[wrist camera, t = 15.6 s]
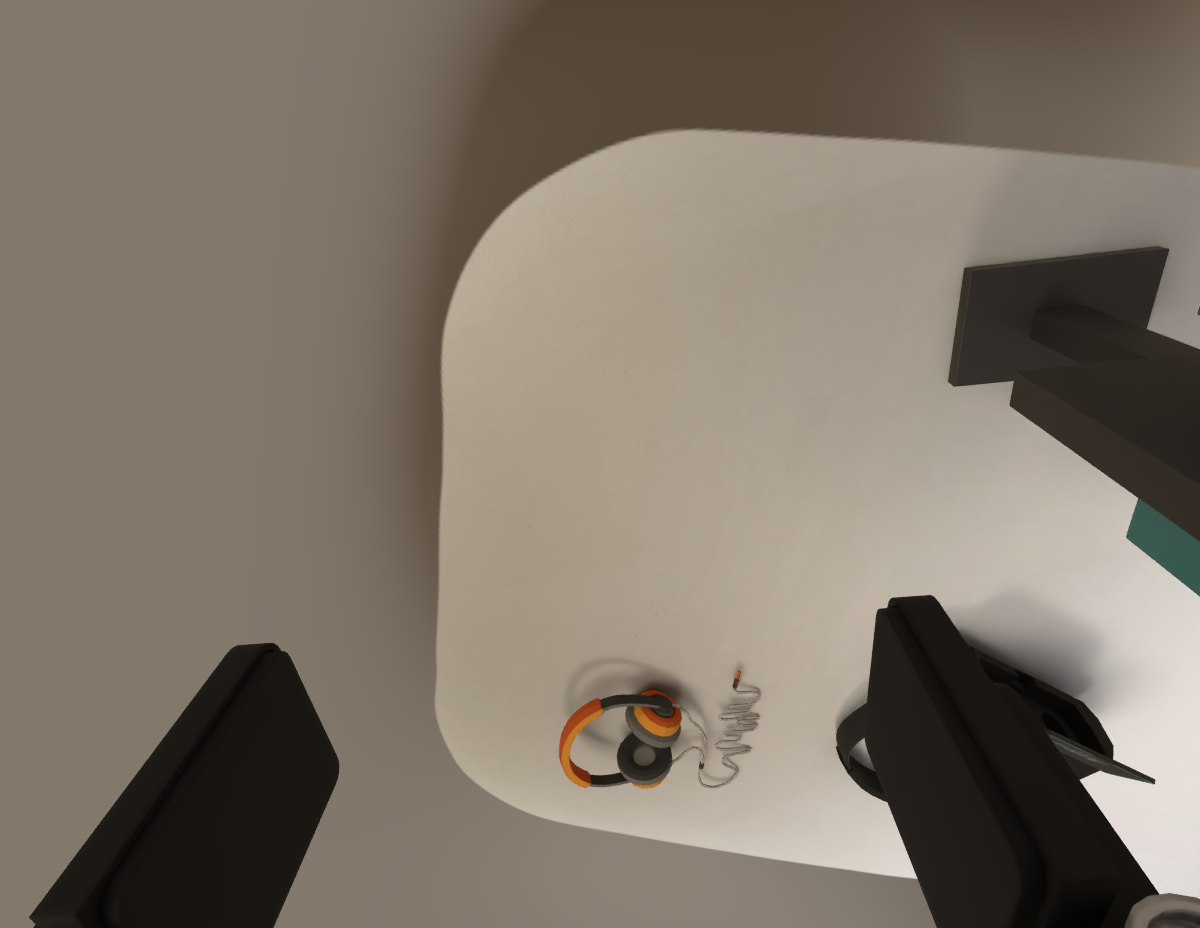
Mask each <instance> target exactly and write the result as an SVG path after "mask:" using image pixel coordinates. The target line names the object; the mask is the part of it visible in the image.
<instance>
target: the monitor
mask: <svg viewBox="0 0 1200 928" xmlns="http://www.w3.org/2000/svg"><path fill="white" fill-rule="evenodd" d="M1168 252H1169V249H1167V248H1163V247H1149V248H1140V249H1131V250H1122V251H1113V252H1104V253H1095V254H1086V255H1078V256H1069V257H1060V258H1051V259H1042V260H1033V261H1024V262H1015V263H1007V264H998V265H989V266H980V267H971V268H965V269H964V275H963V282H962V289H961V296H960V303H959V310H958V317H957V324H956V331H955V338H954V344H953V351H952V358H951V365H950V372H949V379H948V382H949V383H950V384H952V385H953V386H954V387H956V386H966V385H976V384H986V383H997V382H1007V381H1014V385H1013V390H1012V395H1011V400H1010V406H1011V407H1012V408H1014V409H1015V410H1016V411H1018V412H1019V413H1021V414H1022V415H1023V416H1025V417H1026V418H1028V419H1029V420H1030V421H1032V422H1033V423H1034V424H1036V425H1037V426H1039V427H1040V428H1041V429H1043V430H1044V431H1046V432H1047V433H1048V434H1050V435H1051V436H1053V437H1054V438H1055V439H1057V440H1058V441H1060V442H1061V443H1062V444H1064V445H1065V446H1067V447H1068V448H1069V449H1071V450H1072V451H1074V452H1075V453H1076V454H1078V455H1079V456H1081V457H1082V458H1083V459H1085V460H1086V461H1088V462H1089V463H1090V464H1092V465H1093V466H1095V467H1096V468H1097V469H1099V470H1100V471H1101V472H1103V473H1104V474H1106V475H1107V476H1108V477H1110V478H1111V479H1113V480H1114V481H1115V482H1117V483H1118V484H1120V485H1121V486H1122V487H1124V488H1125V489H1127V490H1128V491H1129V492H1131V493H1132V494H1134V495H1135V496H1136V497H1138V498H1139V499H1141V500H1142V501H1143V502H1145V503H1146V504H1148V505H1149V506H1150V507H1152V508H1153V509H1155V510H1156V511H1157V512H1159V513H1160V514H1161V515H1163V516H1164V517H1166V518H1167V519H1168V520H1170V521H1171V522H1173V523H1174V524H1175V525H1177V526H1178V527H1180V528H1181V529H1182V530H1184V531H1185V532H1187V533H1188V534H1189V535H1191V536H1192V537H1194V538H1195V539H1196V540H1198V541H1199V542H1200V349H1197V348H1195V347H1192V346H1189V345H1187V344H1184V343H1182V342H1179V341H1176V340H1174V339H1171V338H1169V337H1166V336H1163V335H1161V334H1158V333H1156V332H1153V331H1150V330H1148V329H1147V326H1148V322H1149V319H1150V315H1151V312H1152V308H1153V305H1154V301H1155V298H1156V294H1157V291H1158V287H1159V284H1160V280H1161V277H1162V273H1163V270H1164V266H1165V263H1166V259H1167V256H1168Z"/></svg>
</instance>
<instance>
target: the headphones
mask: <svg viewBox="0 0 1200 928" xmlns="http://www.w3.org/2000/svg"><path fill="white" fill-rule="evenodd" d="M740 673H741V672H740V671H738V673H737V676H736V678H735V679H734V683H733V686H732V687H733V691H734V692H735V693H738V694H742V693H754V694H757V695H758V697H757V699H756V700H755V701H754V702H751V703H746V704H734V705H730V706H729V710H730V711H743V712H733V713H722V714H720V715H719V719H720V720H723V721H729V720H738V721H737V722H736V725H738V726H755V727H754V728H752V729H745V730H732V731H727V732H726V733H725V736H726V737H738V738H739V739H737V740H724V741H720V742H717V743H716V744H715V748H716V749H717V750H747V751H742V752H736V753H732V754H728V755H726V756H724V757H723V759H722V764H723V765H725V766H726V767H728V768H731V769H733V770H734V771H736V773H735V775H734V776H733V777H732V778H731V779H730V780H728V781H727V782H725V783H722V784H719V785H715V786H709V785H705V784H703V783H702V782H701V779H700V773H701V769H703V767H704V761H705V757H706V752H707V740H706V736H705V734H704V732H703V730H702V728H701V727H700V726H699V725H698V724H697V723H695V722H693V721H692V720H691V718H690V715H689V713H688V712H687V711H686V710H685V709H684V708H683V707H681V706H679V705H677V704H676V703H675V702H674V701H673V700H672V699H671V698H670V697H669V696H667V695H666V694H664V693H662V692H659V691H655V690H647V691H645V692H643V693H642V694H640V695H615V696H611V697H607V698H604V699H601V700H600V699H594V700H592V701H590V702H588V703H587V704H585V705H584V706H582V707H581V708H580V709H579V710H577V711H576V712H575V713H574V714H573V715H572V716H571V718H570V719H569V720H568V721H567V723H566V725H565V727H564V729H563V731H562V734H561V738H560V745H559V758H560V763H561V765H562V768H563V770H564V772H565V774H566V776H567V777H568V778H569V779H570V780H571V781H572V782H573V783H575V784H577V785H579V786H581V787H584V788H587V787H588V786H592V787H610V786H616V785H621V784H626V783H630V782H631V783H632V784H633V785H635V786H637V787H640V788H653V787H655V786H657V785H659V784H660V783H661V782H662V781H663V780H664V779H665V777H666V775H667V774H668V773H669V771H670V768H671V766H672V764H673V763H675V762H676V761H678V760H679V759H680V758H681V757H682V756H683V755H685V754H686V753H687V752H688V751H689V750H691V749H697V750H699V751H700V753H701V762H700V765H699V772H698V780H699V782H700V784H701V785H702V786H704V787H707V788H718V787H721V786H724V785H726V784H728V783H730V782H731V781H733V780H734V779H735V778H736V776H737V775H738V770H737V769H735V768H734V767H732V766H730V765H727V764H726V763H724V760H725V759H726V758H727V757H730V756H734V755H738V754H744V753H749V752H751V750H752V749H751V748H749V747H737V748H719V747H717V745H719V744H721V743H731V742H739V741H740V740H741V736H739V735H728V734H729V733H739V732H749V731H754V730H756V728H757V725H756V724H740V722H747V721H757V720H758V719H759V717H758V716H755V715H752V716H743V717H735V718H721V717H722V716H726V715H739V714H747V713H750V712H751V709H750V708H742V709H732V707H742V706H750V705H753V704H755V703H757V702H758V701H759V699H760V693H759V692H756V691H736V688H737V686H738V683H739V676H740ZM624 706H628V707H627V709H626V714H625V716H626V721H627V724H628V726H629V728H630V729H631V731H632V732H633V734H631V735H630V736H628V737H627V738H625V739H624V741H623V742H622V743H621V745H620V747H619V749H618V753H617V761H618V767H619V769H620V772H621V773H616V774H611V775H601V776H599V775H590V774H589V773H588V772H587V771H585V770H583V769H581V768H579V767H578V766H576V765H575V764H574V763H573V762H572V761H571V759H570V749H571V745H572V743H573V741H574V739H575V737H576V736H577V734H578V733H579V732H580V730H581V729H582V728H583V727H584V726H586V725H587V724H588V723H589V722H591V721H592V720H594V719H595V718H597V717H599V716H601V715H602V714H603V713H604V711H606V710H609V709H612V708H616V707H624ZM679 708H680V709H681V710H683V711H684V712H685V713H686V714H687V716H688V719H689V721H690V722H691V723H692V724H694V725H695V726H697V727H698V728H699V729H700V731H701V733H702V735H703V738H704V742H705V750H704V755H703V752H702V750H701V749H700V748H699V747H695V746H693V747H689V748H687V749H686V750H685V751H684V752H683V753H682V754H681V755H680V756H679V757H677V758H676V759H675V760H673V761H672V753H671V748H670V746H672V745H673V744H674V743H675V742H676V740H677V738H678V737H679V735H680V732H681V726H680V723H681V719H682V717H681V711H680V709H679ZM747 718H755V719H747ZM739 719H741V720H739Z"/></svg>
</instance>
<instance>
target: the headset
mask: <svg viewBox="0 0 1200 928" xmlns="http://www.w3.org/2000/svg"><path fill="white" fill-rule="evenodd" d="M1198 315H1200V307H1199V311H1198ZM1126 538H1127V539H1128V540H1130V541H1131V542H1132V543H1133V544H1135V545H1136V546H1137V547H1138V548H1140V549H1141V550H1142V551H1143V552H1145V553H1146V554H1147V555H1148V556H1150V557H1151V558H1152V559H1153V560H1155V561H1156V562H1157V563H1158V564H1160V565H1161V566H1162V567H1163V568H1165V569H1166V570H1167V571H1169V572H1170V573H1171V574H1172V575H1174V576H1175V577H1176V578H1177V579H1179V580H1180V581H1181V582H1182V583H1184V584H1185V585H1186V586H1187V587H1189V588H1190V589H1191V590H1192V591H1194V592H1195V593H1196V594H1197V595H1199V596H1200V542H1199V541H1198V540H1196V539H1195V538H1194V537H1192V536H1191V535H1189V534H1188V533H1187V532H1185V531H1184V530H1182V529H1181V528H1180V527H1178V526H1177V525H1175V524H1174V523H1173V522H1171V521H1170V520H1168V519H1167V518H1166V517H1164V516H1163V515H1161V514H1160V513H1159V512H1157V511H1156V510H1155V509H1153V508H1152V507H1150V506H1149V505H1148V504H1146V503H1145V502H1143V501H1142V500H1141V499H1139V498H1138V501H1137V504H1136V507H1135V510H1134V513H1133V516H1132V520H1131V523H1130V526H1129V529H1128V532H1127V535H1126Z"/></svg>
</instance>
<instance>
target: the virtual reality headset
mask: <svg viewBox="0 0 1200 928" xmlns="http://www.w3.org/2000/svg"><path fill="white" fill-rule="evenodd" d="M968 647H969V646H968ZM969 648H970V650H971V651H972V653H973V654H974V656H975V657H976V659H977V660H978V662H979V663H980V665H981V666H982V668H983V669H984V671H985V672H986V674H987V675H988V677H989V678H990V680H991V681H992V683H1005V684H1007V685H1009V686H1010V687H1012V688H1013V689H1014V690H1015V691H1016V692H1017V693H1018V694H1019V695H1020V697H1021V698H1022V699H1023V700H1024V702H1025V703H1026V705H1027V706H1028V707H1029V709H1030V710H1031V712H1032V713H1033V715H1034V716H1035V717H1036V719H1037V720H1038V722H1039V723H1040V725H1041V726H1042V727H1043V729H1044V730H1045V732H1046V733H1047V735H1048V736H1049V737H1050V739H1051V740H1052V742H1053V743H1054V745H1055V746H1056V747H1057V749H1058V750H1059V752H1060V753H1061V755H1062V756H1063V757H1064V759H1065V760H1066V762H1067V763H1068V765H1069V766H1070V767H1071V769H1072V770H1073V772H1074V773H1075V774H1076V776H1077V777H1078V779H1079V780H1080V779H1082V778H1084V777H1087V776H1089V775H1091V774H1093V773H1096V772H1098V771H1100V770H1101V771H1103V772H1105V773H1108V774H1112V775H1116V776H1121V777H1125V778H1129V779H1134V780H1138V781H1142V782H1147V783H1151V784H1155V779H1153V778H1151V777H1149V776H1147V775H1145V774H1142V773H1140V772H1138V771H1136V770H1134V769H1132V768H1130V767H1128V766H1126V765H1124V764H1121V763H1119V762H1117V761H1115V760H1113V744H1112V742H1111V741H1110V739H1109V737H1108V736H1107V734H1106V732H1105V730H1104V729H1103V727H1102V725H1101V723H1100V722H1099V720H1098V718H1097V717H1096V716H1095V715H1094V714H1093V713H1092V712H1091V710H1090V709H1089V708H1088V707H1087V706H1086V705H1085V704H1084V703H1083V702H1082V701H1080V700H1078V699H1074V698H1073V697H1071V696H1070V695H1068V694H1066V693H1064V692H1062V691H1060V690H1058V689H1056V688H1054V687H1052V686H1050V685H1048V684H1046V683H1044V682H1042V681H1040V680H1038V679H1036V678H1034V677H1031V676H1029V675H1027V674H1025V673H1023V672H1020V671H1018V670H1017V669H1015V668H1013V667H1011V666H1009V665H1007V664H1005V663H1003V662H1001V661H999V660H997V659H995V658H993V657H991V656H989V655H987V654H985V653H983V652H981V651H979V650H977V649H975V648H973V647H969ZM866 706H867V703H866V704H864V705H863V706H861V707H860V708H858V709H857V710H855V711H854V712H853V713H852V714H850V715H849V716H848V717H847V718H846V719H845V720H844V721H843V722H842V723H841V724H840V726H839V728H838V730H837V734H836V740H837V745H838V746H836V749H837V752H838V755H839V758H840V760H841V762H842V764H843V766H844V767H845V769H846V771H847V773H848V774H849V775H850V776H851V778H852V779H853V780H854V781H855V782H856V783H857V784H858V785H859V786H860V787H861V788H862V789H863V790H865V791H866V792H868V793H869V794H871V795H872V796H875V797H877V798H879V799H881V800H883V801H886V802H887V800H886V797H885V795H884V792H883V789H882V787H881V784H880V782H879V779H878V777H877V774H876V772H875V771H873V770H871V769H869V768H867V767H865V766H863V765H862V764H860V763H859V762H857V761H856V760H855V759H854V758H853V757H852V756H851V755H850V752H851V750H852V748H853V747H854V746H855V745H856V744H857V743H858V742H859V741H861V740H862V739H863V738H865V736H864V725H865V716H866Z"/></svg>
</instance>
